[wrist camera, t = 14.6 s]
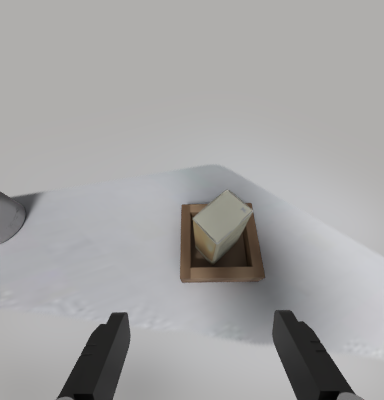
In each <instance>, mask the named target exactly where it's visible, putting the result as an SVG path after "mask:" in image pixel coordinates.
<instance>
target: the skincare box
mask: <svg viewBox="0 0 384 400" xmlns="http://www.w3.org/2000/svg"><path fill="white" fill-rule="evenodd" d="M252 213H253V210H252V209H251V208H250V207H249V206H248V205H246V204H245V203H244V202H243V201H242V200H241V199H239V198H238V197H237V196H236V195H235V194H233V193H232V192H231V191H229V190H226V191H224V192H223V193H222V194H220V195H219V196H218V197H216V198H215V199H214V200H213V201H212V202H210V203H209V204H208V205H207V206H206V207H205V208H203V209H202V210H201V211H200V212H199V213H198V214H197V215H196V216H195V217H193V227H194V237H195V247H196V248H197V249H198V251H199V252H200V253H201V254H202V255H203V256H204V257H205V259H206V260H207V261H208V262H209V263H210V264H211V265H214V264H215V263H216V262H217V261H218V260H219V259H220V258H221V257H222V256H223V255H224V254H226V253H227V252H228V251H229V250H230V249H231V248H232V247H233V245H234V244H235V243H236V242H237V241H238V239H239V237H240V235H241V233H242V231H243V230H244V228H245V226H246V224H247V222H248V220H249V218H250V216H251V214H252Z"/></svg>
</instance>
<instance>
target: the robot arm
mask: <svg viewBox="0 0 384 400" xmlns="http://www.w3.org/2000/svg"><path fill="white" fill-rule="evenodd" d="M25 215H26V212H25V209H24V207H23V206H22V205H21V204H20V203H18V202H16V201H15V200H13V199H11V198H10V197H8V196H7V195H5V194H3V193H2V192H0V243H2V242H4V241H6V240H8V239H9V238H11V237H12V236H13V235H14V234H15V233H16V232H17V231H18V230H19V229H20V228H21V226H22V224H23V223H24V220H25ZM272 335H273V341H274V345H275V347H276V350H277V352H278V355H279V357H280V359H281V362H282V364H283V367H284V369H285V371H286V374H287V376H288V378H289V381H290V383H291V386H292V388H293V391H294V393H295V395H296V398H297V400H364V399H362V398H361V397H359V396H357V395H356V394H355V393H354V392H353V390H352V389H351V387H350V386H349V384H348V383H347V382H346V380H345V378H344V377H343V375H342V374H341V372H340V371H339V369H338V367H337V366H336V364H335V363H334V361H333V360H332V359H331V357H330V355H329V354H328V353H327V352H326V349H325V348H324V346H323V345H322V343H320V340H319V339H318V337H317V336H316V334H315V333H314V331H313V330H312V329H311V328H310V327H309V326H308V325H307V324H305V323H304V322H303V321H300V322H298V321H297V319H296V317H295V316H294V314H293V312H292V311H290V310H276V311H275V314H274V323H273V331H272ZM129 344H130V328H129V320H128V314H127V312H119V313H112V314H111V316H110V318H109V320H108V322H107V324H100V325H99V326H98V327H97V329H96V330H95V331H94V332H93V333H92V334H91V336H90V338H89V340H88V342H87V344H86V346H85V347H84V349H83V351H82V353H81V356H80V357H79V359H78V361H77V362H76V364H75V366H74V368H73V370H72V372H71V374H70V376H69V378H68V379H67V381H66V383H65V385H64V387H63V389H62V391H61V393H60V394H59V396H58V398H57V399H56V400H113V396H114V393H115V390H116V387H117V384H118V380H119V377H120V374H121V370H122V367H123V364H124V361H125V358H126V355H127V351H128V348H129Z"/></svg>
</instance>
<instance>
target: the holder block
mask: <svg viewBox="0 0 384 400" xmlns="http://www.w3.org/2000/svg"><path fill="white" fill-rule="evenodd" d="M245 204H246V205H248V206H249V207H250V208H251V209H252V204H251V203H245ZM207 205H208V204H189V205H182V210H181V259H180V279H181V281H182V283H186V282H258V281H260V280H262V279H263V278H265V274H264V268H263V263H262V258H261V252H260V247H259V241H258V236H257V231H256V225H255V220H254V214H253V213H252V214H251V216H250V218H249V220H248V222H247V224H246V226H245V228H244V230H243V231H242V233H241V235H240V237H239V239H238V241H237V242H236V243H235V244H234V245H233V247H232V248H231V249H230V250H229V251H228V252H227V253H226V254H224V255H223V256H222V257H221V258H220V259H219V260H218V261H217V262H216V263H215V264H214V265H211V264H210V263H209V262H208V261H207V260H206V259H205V257H204V256H203V255H202V254H201V253H200V252H199V251H198V249H197V248H196V247H195V237H194V227H193V217H195V216H196V215H197V214H198V213H199V212H200V211H201V210H202V209H203V208H205V207H206V206H207ZM252 210H253V209H252Z"/></svg>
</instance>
